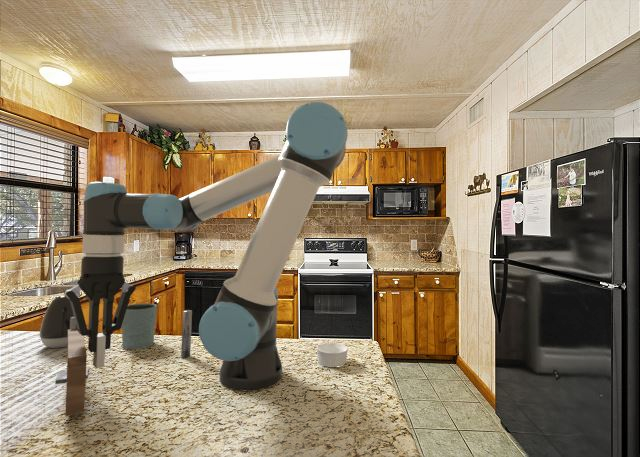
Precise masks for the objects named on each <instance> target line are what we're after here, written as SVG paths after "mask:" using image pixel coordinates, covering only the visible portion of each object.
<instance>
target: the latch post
mask: <svg viewBox="0 0 640 457" xmlns="http://www.w3.org/2000/svg"><path fill="white" fill-rule="evenodd" d="M192 316H193V310H191V309H185V310H183V311H182V328H181V329H182V330H181V350H180V351H181V352H180V353H181V354H180V357H181V358H182V359H188V358H191V347H192V346H191V344H192V321H193V320H192V318H193V317H192Z"/></svg>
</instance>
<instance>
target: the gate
mask: <svg viewBox="0 0 640 457" xmlns="http://www.w3.org/2000/svg"><path fill="white" fill-rule="evenodd" d="M85 342H86V341H85V336H82V335H81V334H80V333H79V332H78V329H70V330H68V346H67V367H66V370H67V381H66V389H65V390H66V391H65V392H66V395H65V411H64V412H65V415H64V416H65V417H70V416H74V415H78V414H81V413H85V403H86V402H85V400H86V399H85V398H86V381H87V380H86V379H87V378H86V367H87V361H88V359H87V358H88V355H87V354H88V353H87V348H86V343H85Z"/></svg>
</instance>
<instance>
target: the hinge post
mask: <svg viewBox="0 0 640 457" xmlns="http://www.w3.org/2000/svg"><path fill="white" fill-rule="evenodd" d="M70 329H77V326H76V322H75V318H74V317H71V319H70ZM89 367H90V366H86V379H88V377H89V376H88V375H89V370H90V368H89ZM63 382H67V369H63V370H58V372H57V376H56V378H55V382H54V383H55V384H58V383H63Z"/></svg>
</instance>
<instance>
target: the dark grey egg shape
mask: <svg viewBox="0 0 640 457" xmlns="http://www.w3.org/2000/svg"><path fill="white" fill-rule="evenodd" d="M71 317H74V314H73V310H72V307H71V303H70V300H69V299H68V298H67V297H66V295H65V294H63V295H56V296H55V298H54V299H53V300H52V301H50V304H49V305H48V306H47V309H46V311H45V313H44V316H43V319H42V322H41V326H40V330H39V338H40V340H41V342H42V344H43V345H44V346H45V347H47V348H51V349H60V348H65V347H68V330H70V319H71Z"/></svg>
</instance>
